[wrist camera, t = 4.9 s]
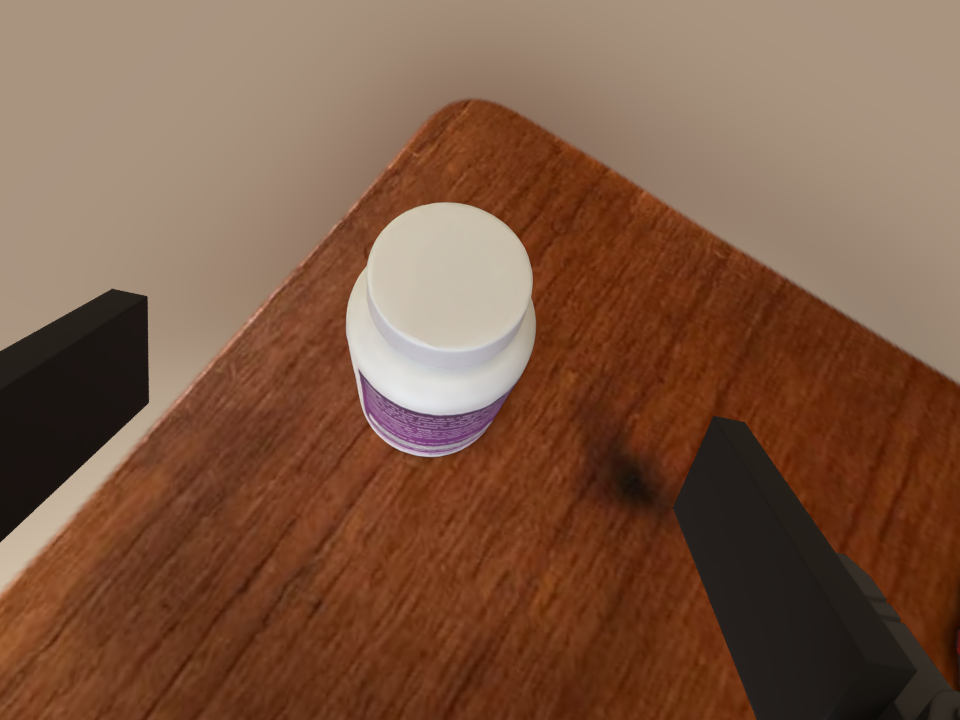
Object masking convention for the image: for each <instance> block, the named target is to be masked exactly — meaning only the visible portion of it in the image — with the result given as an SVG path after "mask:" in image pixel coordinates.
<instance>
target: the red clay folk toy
mask: <svg viewBox="0 0 960 720" xmlns="http://www.w3.org/2000/svg"><path fill="white" fill-rule="evenodd" d="M955 643H956V648H957V653H958V666H959V684H960V627H959V628H958V630H957V638H956V642H955Z"/></svg>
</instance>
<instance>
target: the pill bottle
mask: <svg viewBox="0 0 960 720" xmlns="http://www.w3.org/2000/svg"><path fill="white" fill-rule="evenodd" d="M532 286H533V276H532V269H531V265H530V261H529V258H528V255H527V253H526V250H525V248H524V246H523V245H522V243H521V241H520V240H519V239H518V237H517V236H516V235H515V233H514V232H513V231H512V230H511V229H510V228H509V227H508V226H507V225H506V224H504V223H503V222H502V221H500V220H499V219H498V218H496V217H495V216H493V215H491V214H489V213H487V212H485V211H483V210H481V209H479V208H476V207H473V206H469V205H465V204H460V203H445V202H444V203H433V204H428V205H422V206H418V207H416V208H413V209H411V210H408V211H407V212H405V213H403V214H401V215H400V216H398V217H397V218H395V219H394V220H393V221H392V222H391V223H389V224H388V226H387V227H386V228H385V229H384V230H383V231H382V232H381V233H380V235H379V236H378V238H377V239H376V241H375V243H374V245H373V247H372V249H371V252H370V255H369V259H368V263H367V266H366V268H365V269H364V270H363V272H362V273H361V274H360V276H359V277H358V279H357V281H356V283H355V285H354V288H353V290H352V293H351V296H350V299H349V302H348V308H347V315H346V334H347V339H348V343H349V349H350V354H351V359H352V363H353V368H354V372H355V376H356V383H357V386H358V392H359V397H360V402H361V406H362V409H363V412H364V414H365V417H366V419H367V420H368V422H369V424H370V425H371V427H372V428H373V430H374V431H375V432H376V433H377V434H378V435H379V436H380V437H381V438H382V439H383V440H384V441H385V442H386V443H388V444H390V445H391V446H393V447H394V448H396V449H398V450H400V451H403V452H406V453H409V454H413V455H417V456H425V457H438V456H444V455H448V454H451V453H454V452H457V451H460V450H462V449H463V448H465V447H467V446H469V445H470V444H472V443H473V442H475V441H476V440H477V439H478V438H479V437H480V436H481V435H482V434H483V433H484V432H485V431H486V429H487V428H488V427H489V425H490V424H491V423H492V421H493V419H494V417H495V416H496V414H497V413H498V411H499V410H500V408H501V406H502V405H503V403H504V401H505V400H506V398H507V397H508V395H509V394H510V392H511V391H512V389H513V388H514V386H515V385H516V383H517V382H518V380H519V378H520V377H521V375H522V373H523V371H524V369H525V367H526V365H527V363H528V360H529V358H530V356H531V353H532V350H533V345H534V341H535V333H536V318H535V311H534V306H533V302H532V299H531V295H532Z"/></svg>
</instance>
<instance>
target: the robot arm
mask: <svg viewBox="0 0 960 720" xmlns="http://www.w3.org/2000/svg"><path fill="white" fill-rule="evenodd" d="M147 305H148V301H147V296H144V295H139V294H134V293H129V292H124V291H120V290H115V289H111V290H110V291H108V292H106V293H104V294H102V295H100V296H99V297H97V298H95V299H93V300H91V301H90V302H88V303H86V304H84V305H82V306H81V307H79V308H77V309H75V310H74V311H72V312H70V313H68V314H66V315H65V316H63V317H61V318H59V319H57V320H56V321H54V322H52V323H50V324H48V325H47V326H45V327H43V328H41V329H40V330H38V331H36V332H34V333H32V334H31V335H29V336H27V337H25V338H23V339H21V340H20V341H18V342H16V343H14V344H13V345H11V346H9V347H7V348H6V349H4V350H2V351H0V542H1V541H2V540H3V539H4V538H5V537H6V536H8V535H9V534H10V533H11V532H12V531H13V530H14V529H15V528H16V527H17V526H18V525H19V524H20V523H21V522H23V520H25V519H26V518H27V517H28V516H29V515H30V514H31V513H32V512H33V511H34V510H35V509H36V508H37V507H38V506H40V505H41V504H42V503H43V502H44V501H45V500H46V499H47V498H48V497H49V496H50V495H51V494H52V493H53V492H54V491H56V490H57V489H58V488H59V487H60V486H61V485H62V484H63V483H64V482H65V481H66V480H67V479H68V478H69V477H70V476H71V475H73V473H75V472H76V471H77V470H78V469H79V468H80V467H81V466H82V465H83V464H84V463H85V462H86V461H88V459H90V458H91V457H92V456H93V455H94V454H95V453H96V452H97V451H98V450H99V449H100V448H101V447H102V446H103V445H105V444H106V443H107V442H108V441H109V440H110V439H111V438H112V437H113V436H114V435H115V434H116V433H117V432H118V431H119V430H120V429H121V428H123V426H125V425H126V424H127V423H128V422H129V421H130V420H131V419H132V418H133V417H134V416H135V415H136V414H137V413H138V412H140V411H141V410H142V409H143V408H144V407H145V406H146V405H147V404H148V403H149V382H148V381H149V377H148V306H147ZM673 509H674V512H675V514H676V517H677V519H678V522H679V524H680V527H681V529H682V532H683V534H684V537H685V539H686V542H687V544H688V547H689V550H690V552H691V555H692V557H693V560H694V562H695V565H696V567H697V570H698V572H699V575H700V577H701V580H702V582H703V585H704V587H705V590H706V593H707V595H708V598H709V600H710V603H711V605H712V608H713V610H714V613H715V615H716V618H717V620H718V623H719V625H720V628H721V630H722V633H723V636H724V638H725V641H726V643H727V646H728V648H729V651H730V653H731V656H732V658H733V661H734V663H735V666H736V668H737V671H738V673H739V676H740V679H741V681H742V684H743V686H744V689H745V691H746V694H747V696H748V699H749V701H750V704H751V706H752V709H753V711H754V714H755V717H756V719H757V720H960V692H958V691H954V690H953V689H952V688H951V687H950V685H949V684H948V683H947V681H946V680H945V678H944V677H943V676H942V674H941V673H940V672H939V670H938V669H937V667H936V666H935V665H934V663H933V662H932V661H931V659H930V658H929V657H928V655H927V654H926V652H925V651H924V650H923V648H922V647H921V646H920V644H919V643H918V642H917V640H916V639H915V637H914V636H913V635H912V633H911V632H910V631H909V629H908V628H907V626H906V625H905V624H904V623H901V622H900V619H901V618H900V617H899V616H898V614H897V613H896V611H895V610H894V609H893V607H892V606H891V605H890V604H887V603H886V600H887V599H886V598H885V596H884V595H883V594H882V592H881V591H880V590H879V588H878V587H877V585H876V584H875V583H874V581H873V580H872V579H871V577H870V576H869V575H868V574H867V573H865V572H864V571H863V570H862V569H861V568H860V567H859V566H858V565H856V564H855V563H854V562H853V561H852V560H851V559H850V558H849V557H847V556H846V555H845V554H840V553H835V551H834V550H833V548H832V547H831V546H830V544H829V543H828V541H827V540H826V538H825V537H824V536H823V534H822V533H821V531H820V530H819V528H818V527H817V525H816V524H815V523H814V521H813V520H812V518H811V517H810V515H809V514H808V513H807V511H806V510H805V508H804V507H803V505H802V504H801V502H800V501H799V500H798V498H797V497H796V495H795V494H794V492H793V491H792V490H791V488H790V487H789V485H788V484H787V482H786V481H785V480H784V478H783V477H782V475H781V474H780V472H779V471H778V469H777V468H776V467H775V465H774V464H773V462H772V461H771V459H770V458H769V457H768V455H767V454H766V452H765V451H764V449H763V448H762V446H761V445H760V444H759V442H758V441H757V439H756V438H755V436H754V435H753V434H752V432H751V431H750V429H749V428H748V426H747V425H746V424H745V422H741V421H736V420H731V419H726V418H722V417H717V416H713V418H712V421H711V423H710V425H709V427H708V430H707V432H706V434H705V437H704V439H703V441H702V443H701V446H700V448H699V450H698V452H697V455H696V457H695V459H694V461H693V464H692V466H691V468H690V470H689V473H688V475H687V477H686V480H685V482H684V484H683V486H682V489H681V491H680V493H679V495H678V498H677V500H676V502H675V504H674V507H673Z"/></svg>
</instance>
